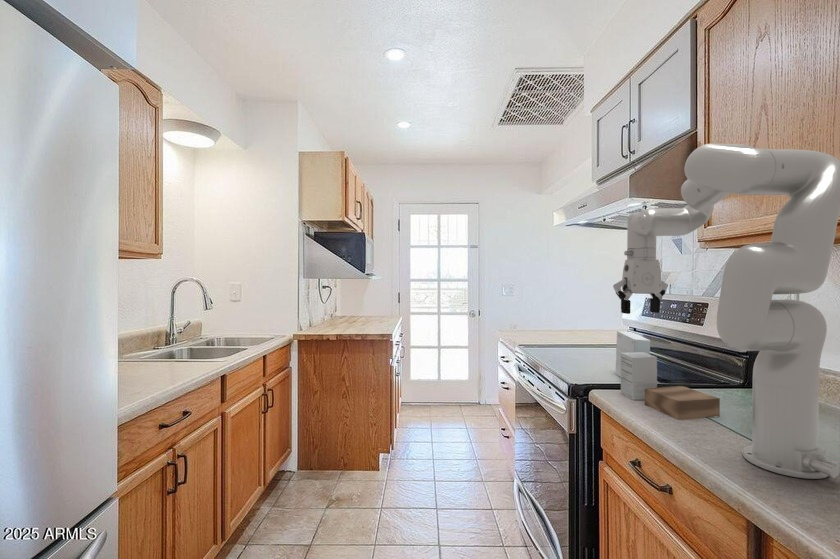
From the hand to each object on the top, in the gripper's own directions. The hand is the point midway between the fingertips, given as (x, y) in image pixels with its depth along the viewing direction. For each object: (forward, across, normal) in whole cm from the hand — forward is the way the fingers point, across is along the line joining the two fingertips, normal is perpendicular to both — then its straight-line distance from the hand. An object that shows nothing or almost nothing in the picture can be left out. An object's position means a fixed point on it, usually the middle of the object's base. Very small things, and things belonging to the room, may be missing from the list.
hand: (640, 312), depth 122 cm
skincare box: (+26, +10, +16) cm, 32 cm away
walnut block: (+25, +2, -13) cm, 28 cm away
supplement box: (+25, 0, 0) cm, 25 cm away
